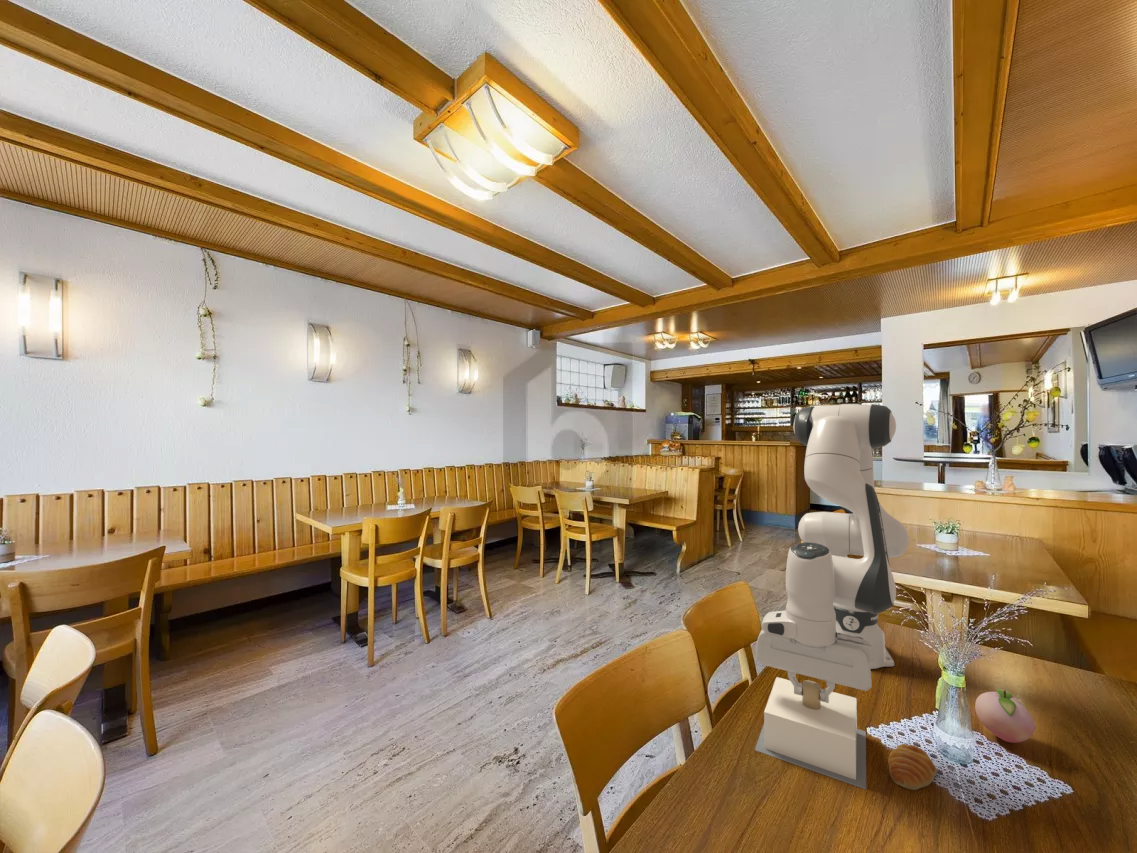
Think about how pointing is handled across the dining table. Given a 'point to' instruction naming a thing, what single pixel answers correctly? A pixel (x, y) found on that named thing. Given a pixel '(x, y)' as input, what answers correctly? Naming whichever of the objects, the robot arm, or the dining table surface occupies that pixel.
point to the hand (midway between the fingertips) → (811, 697)
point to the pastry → (911, 767)
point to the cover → (812, 727)
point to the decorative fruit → (1004, 716)
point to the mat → (860, 769)
